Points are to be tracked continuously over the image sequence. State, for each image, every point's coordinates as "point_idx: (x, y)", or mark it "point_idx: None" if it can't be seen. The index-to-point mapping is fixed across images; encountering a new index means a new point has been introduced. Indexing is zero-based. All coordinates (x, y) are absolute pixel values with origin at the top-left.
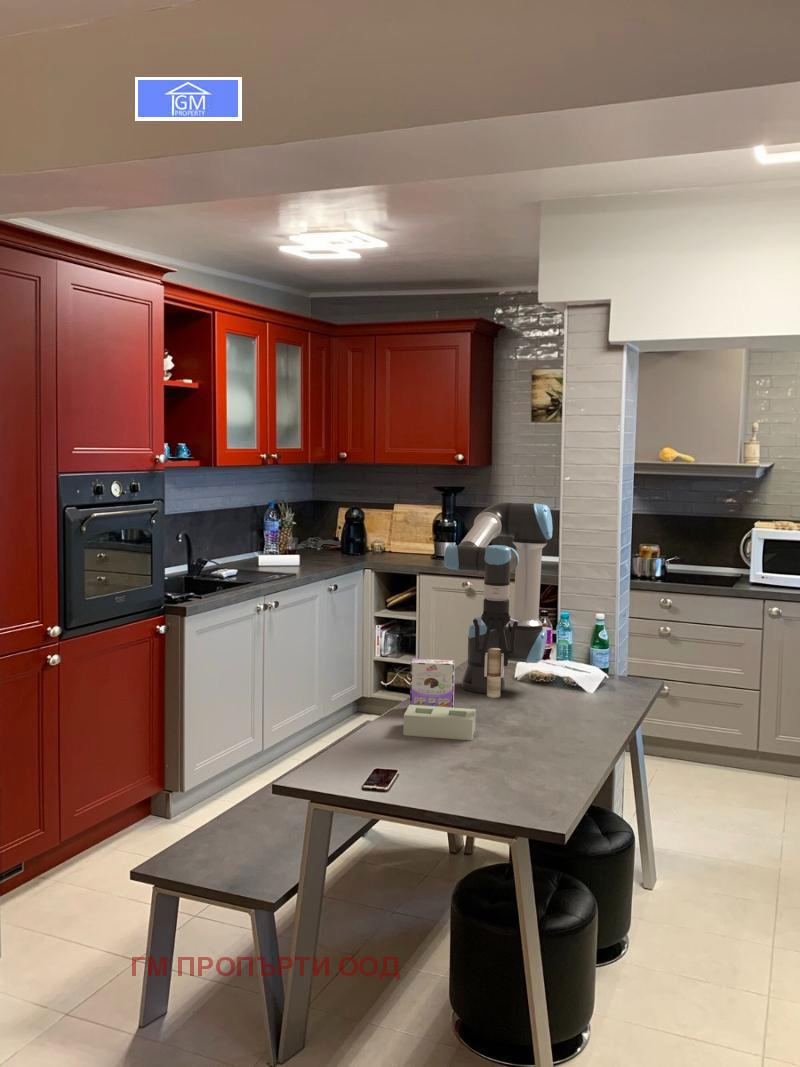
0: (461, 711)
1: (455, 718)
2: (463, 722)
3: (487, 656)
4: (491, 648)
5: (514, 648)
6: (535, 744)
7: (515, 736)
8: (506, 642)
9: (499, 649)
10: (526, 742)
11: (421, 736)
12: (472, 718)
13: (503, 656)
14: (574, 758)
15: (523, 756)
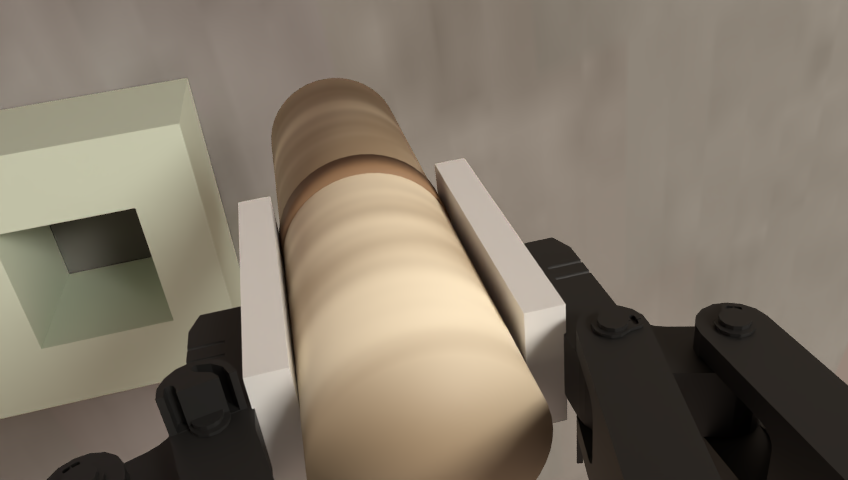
0: (92, 215)
1: (128, 381)
2: None
3: None
4: (356, 405)
5: (790, 353)
6: (584, 203)
7: (468, 119)
8: (707, 461)
9: (515, 409)
10: (537, 193)
11: None
12: None
13: (561, 418)
14: (750, 304)
15: None
